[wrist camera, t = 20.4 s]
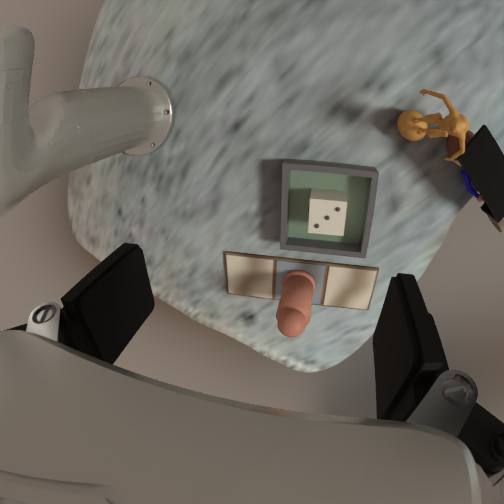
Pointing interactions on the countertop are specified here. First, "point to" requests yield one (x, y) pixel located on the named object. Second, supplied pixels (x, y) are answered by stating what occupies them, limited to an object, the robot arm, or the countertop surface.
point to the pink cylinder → (295, 302)
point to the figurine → (416, 124)
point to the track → (325, 274)
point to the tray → (330, 178)
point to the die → (327, 212)
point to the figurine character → (482, 171)
